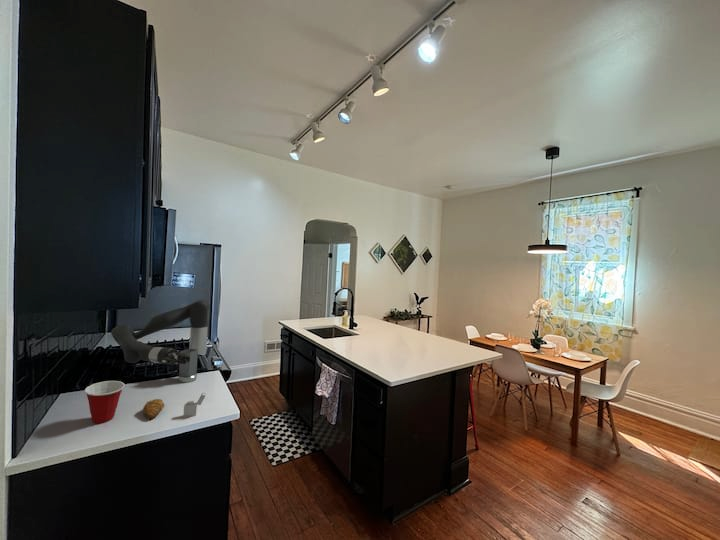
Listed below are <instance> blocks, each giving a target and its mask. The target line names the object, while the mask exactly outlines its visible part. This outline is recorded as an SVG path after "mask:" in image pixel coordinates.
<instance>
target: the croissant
mask: <svg viewBox="0 0 720 540" xmlns="http://www.w3.org/2000/svg"><path fill="white" fill-rule="evenodd" d="M165 406H166V405H165V403H164V401H163V400H162V399H161V398H156V399H152V400H149V401H147V402H146V403H145V404H144V406H143V408H142V410H143V412H144V415H145V417H146V418H147V419H148V420H154V419H155V418H157V416H158V415H159V414H160V413H161V412H162V410H163V408H164V407H165Z"/></svg>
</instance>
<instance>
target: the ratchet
mask: <svg viewBox="0 0 720 540" xmlns="http://www.w3.org/2000/svg"><path fill="white" fill-rule="evenodd" d="M197 376H198V374H195V375H193V376H191V377H189V378H188V377H180V376H179V375H178V383H179V384H188V383H189V384H190V383H193V382H195V381H197V379H198V378H197Z"/></svg>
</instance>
